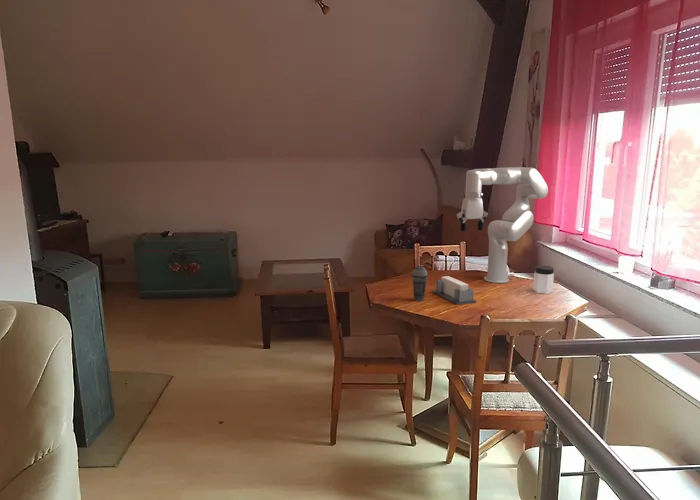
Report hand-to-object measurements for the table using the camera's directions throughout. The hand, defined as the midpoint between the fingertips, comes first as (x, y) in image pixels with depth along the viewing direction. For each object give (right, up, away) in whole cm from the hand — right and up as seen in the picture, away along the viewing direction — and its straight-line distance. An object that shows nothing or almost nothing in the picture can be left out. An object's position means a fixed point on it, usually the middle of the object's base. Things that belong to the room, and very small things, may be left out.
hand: (471, 230), depth 260 cm
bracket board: (-12, -32, -15) cm, 37 cm away
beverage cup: (-28, -33, -19) cm, 47 cm away
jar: (+34, -30, -4) cm, 45 cm away
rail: (-12, -31, -15) cm, 36 cm away
